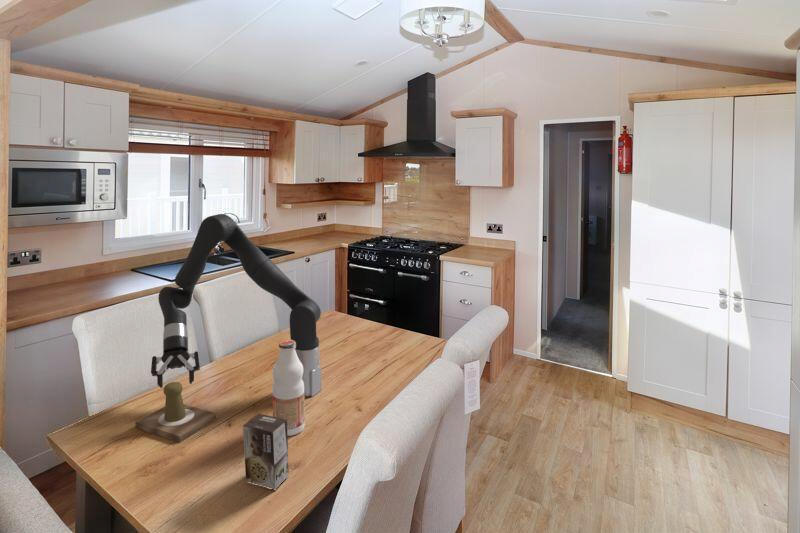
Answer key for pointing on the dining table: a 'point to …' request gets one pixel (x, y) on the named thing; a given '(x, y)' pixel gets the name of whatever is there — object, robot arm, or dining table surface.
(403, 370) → the dining table surface
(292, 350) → the fruit juice
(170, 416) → the cork
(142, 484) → the dining table surface
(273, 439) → the coffee box
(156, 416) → the walnut board
